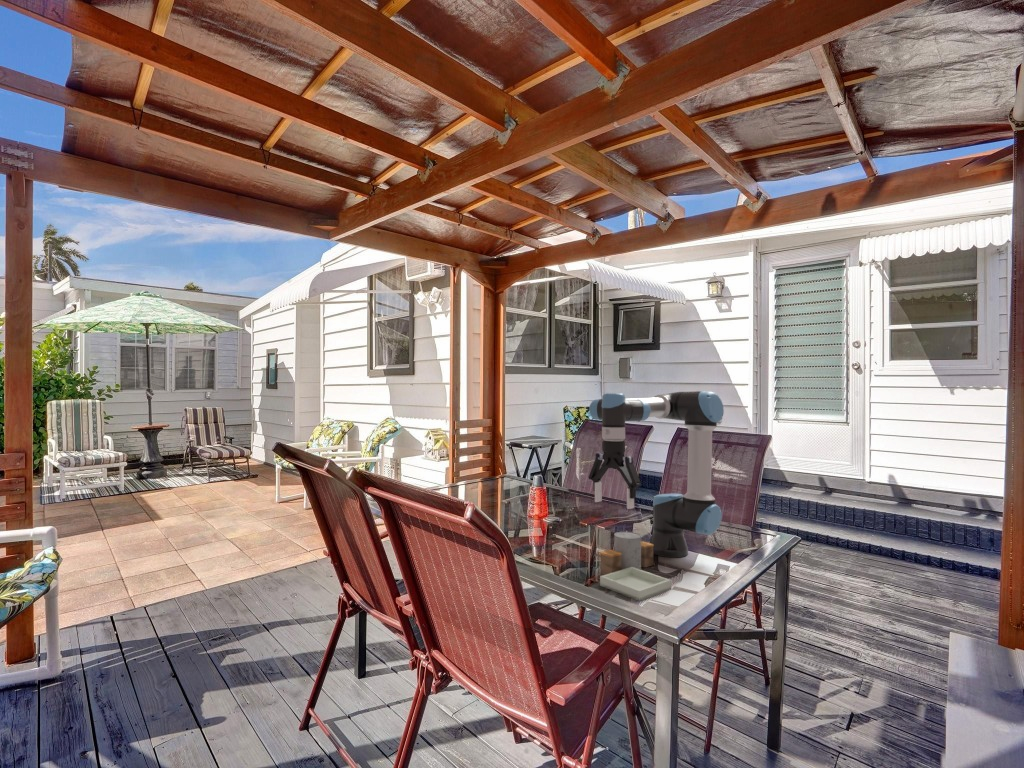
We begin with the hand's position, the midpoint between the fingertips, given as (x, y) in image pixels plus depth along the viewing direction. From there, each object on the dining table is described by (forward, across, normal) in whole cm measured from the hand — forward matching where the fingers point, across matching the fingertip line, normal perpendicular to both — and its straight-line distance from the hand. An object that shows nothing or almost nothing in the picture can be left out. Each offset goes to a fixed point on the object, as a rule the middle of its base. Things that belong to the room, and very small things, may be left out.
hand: (613, 505), depth 164 cm
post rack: (+27, -8, +17) cm, 33 cm away
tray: (+26, +5, +5) cm, 27 cm away
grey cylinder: (+27, -8, +17) cm, 33 cm away
